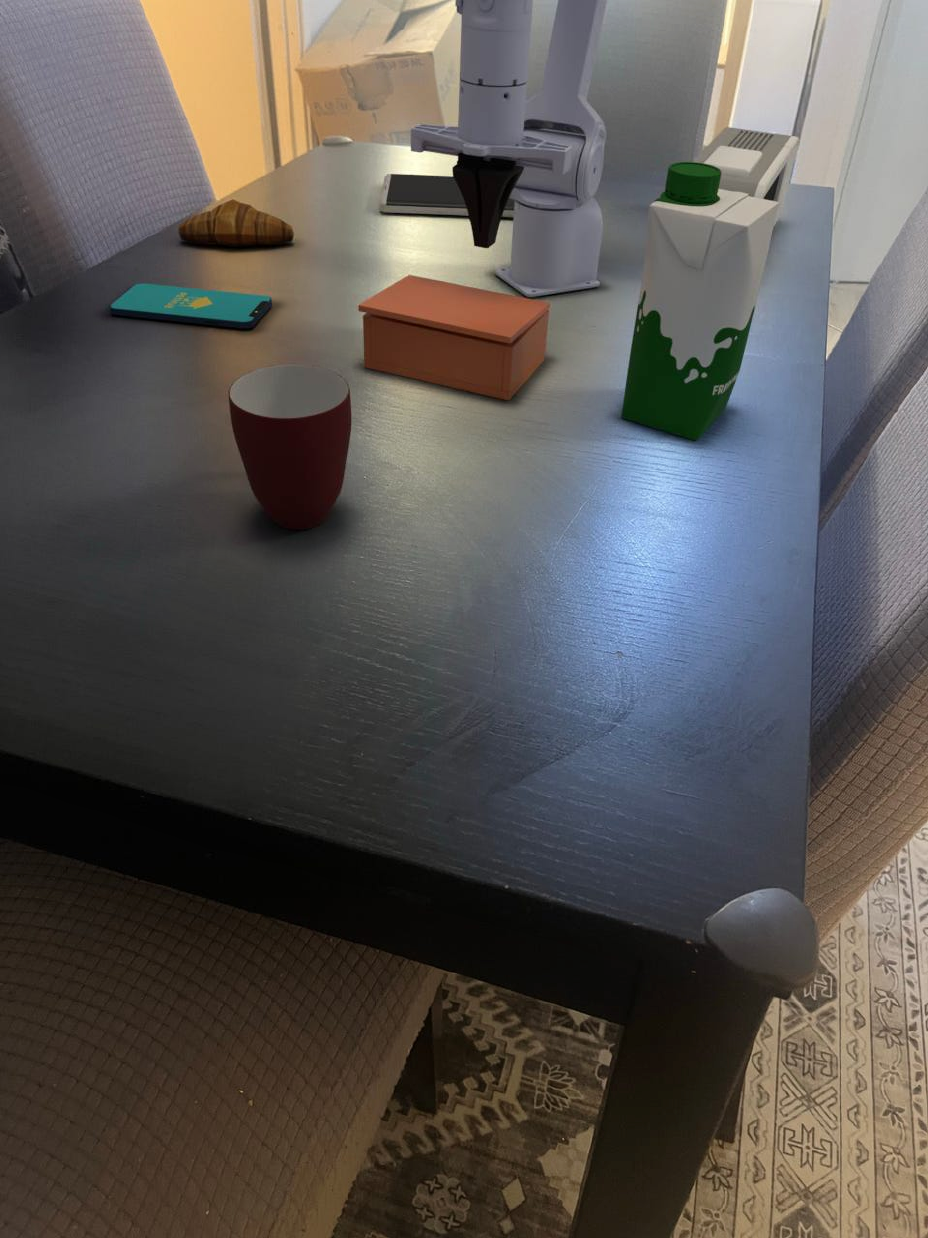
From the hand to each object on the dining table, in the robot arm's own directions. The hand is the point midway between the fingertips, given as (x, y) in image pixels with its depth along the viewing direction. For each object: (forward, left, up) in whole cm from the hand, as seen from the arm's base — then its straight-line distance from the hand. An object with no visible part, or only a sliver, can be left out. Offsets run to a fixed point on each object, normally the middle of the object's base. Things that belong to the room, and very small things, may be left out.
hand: (484, 244), depth 89 cm
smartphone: (+24, -18, -9) cm, 31 cm away
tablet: (-21, -40, -10) cm, 46 cm away
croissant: (+14, -36, -10) cm, 39 cm away
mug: (+26, +22, -10) cm, 35 cm away
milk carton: (-9, +20, -10) cm, 24 cm away
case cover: (+5, +4, -4) cm, 8 cm away
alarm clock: (-42, -14, -10) cm, 45 cm away
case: (+5, +4, -9) cm, 11 cm away
